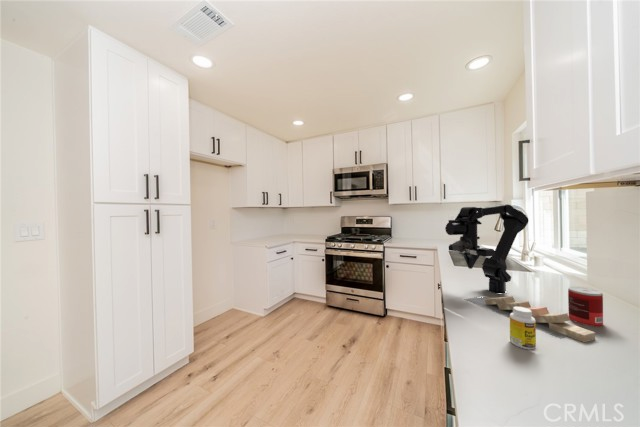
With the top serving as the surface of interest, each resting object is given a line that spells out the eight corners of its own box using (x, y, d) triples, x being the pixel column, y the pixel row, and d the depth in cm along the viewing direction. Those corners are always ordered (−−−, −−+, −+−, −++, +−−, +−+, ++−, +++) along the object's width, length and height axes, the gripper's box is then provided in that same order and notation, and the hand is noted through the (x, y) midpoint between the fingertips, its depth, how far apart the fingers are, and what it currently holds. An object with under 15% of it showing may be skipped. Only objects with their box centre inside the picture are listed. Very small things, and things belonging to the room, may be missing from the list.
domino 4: (529, 315, 78) (556, 315, 71) (539, 313, 79) (567, 313, 72) (532, 322, 77) (560, 322, 70) (542, 320, 78) (570, 320, 71)
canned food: (600, 321, 78) (600, 289, 78) (606, 330, 72) (605, 295, 72) (567, 315, 83) (566, 284, 83) (569, 323, 77) (569, 290, 77)
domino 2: (497, 304, 88) (518, 303, 81) (506, 302, 89) (528, 301, 82) (499, 309, 87) (521, 309, 80) (508, 307, 89) (531, 307, 81)
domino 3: (512, 309, 83) (536, 309, 76) (521, 307, 84) (546, 307, 77) (514, 315, 82) (539, 315, 75) (524, 313, 84) (549, 313, 77)
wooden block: (549, 322, 73) (584, 335, 65) (559, 320, 74) (594, 332, 66) (549, 328, 73) (584, 342, 65) (559, 326, 74) (594, 339, 66)
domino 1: (484, 299, 93) (503, 297, 86) (493, 297, 94) (512, 296, 87) (486, 304, 92) (505, 303, 85) (495, 302, 93) (515, 301, 86)
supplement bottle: (525, 351, 62) (525, 314, 62) (505, 340, 67) (504, 306, 67) (541, 348, 63) (540, 312, 63) (519, 338, 69) (519, 304, 69)
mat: (484, 296, 101) (484, 295, 101) (585, 332, 71) (585, 331, 71) (463, 300, 98) (463, 299, 98) (560, 339, 67) (560, 338, 67)
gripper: (439, 233, 111) (439, 265, 111) (475, 237, 93) (476, 275, 93) (457, 232, 114) (457, 263, 114) (495, 235, 96) (496, 272, 96)
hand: (470, 268), depth 104 cm, fingers closed
